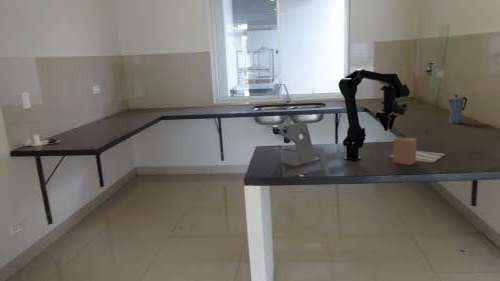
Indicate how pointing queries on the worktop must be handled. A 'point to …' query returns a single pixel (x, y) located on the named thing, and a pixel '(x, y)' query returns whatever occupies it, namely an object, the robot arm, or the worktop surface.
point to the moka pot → (456, 109)
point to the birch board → (426, 156)
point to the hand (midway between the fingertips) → (388, 130)
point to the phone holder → (298, 145)
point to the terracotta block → (404, 150)
